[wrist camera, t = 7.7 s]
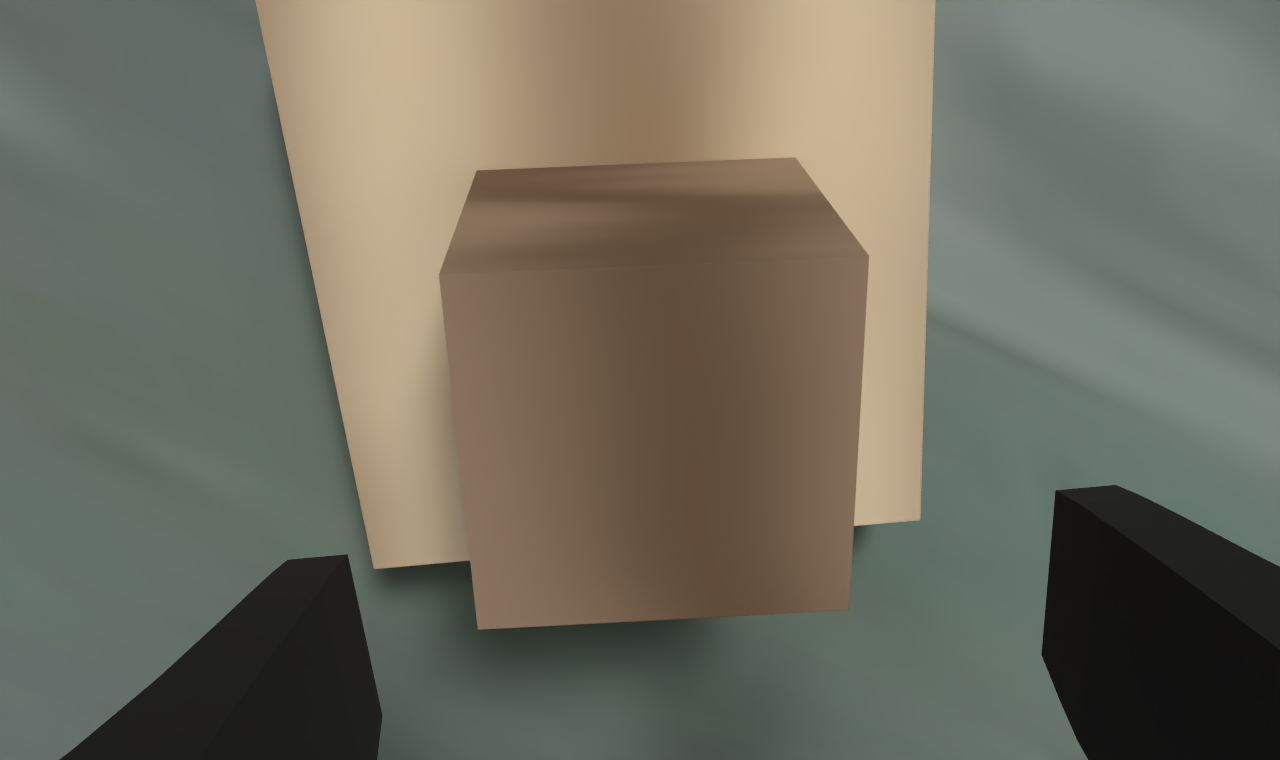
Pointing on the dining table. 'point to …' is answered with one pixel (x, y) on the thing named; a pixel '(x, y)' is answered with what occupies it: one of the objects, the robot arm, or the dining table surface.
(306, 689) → the robot arm
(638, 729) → the dining table surface
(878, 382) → the oak block
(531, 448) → the walnut cube
